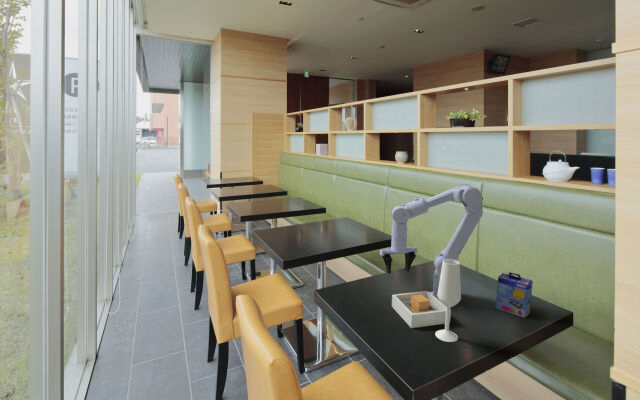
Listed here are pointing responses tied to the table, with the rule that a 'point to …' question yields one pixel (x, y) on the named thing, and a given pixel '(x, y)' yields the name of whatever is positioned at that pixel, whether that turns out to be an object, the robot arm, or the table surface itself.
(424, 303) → the light brown rectangular block
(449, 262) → the champagne flute
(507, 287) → the ink cartridge box
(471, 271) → the table surface
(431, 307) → the inlet socket
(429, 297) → the walled box
